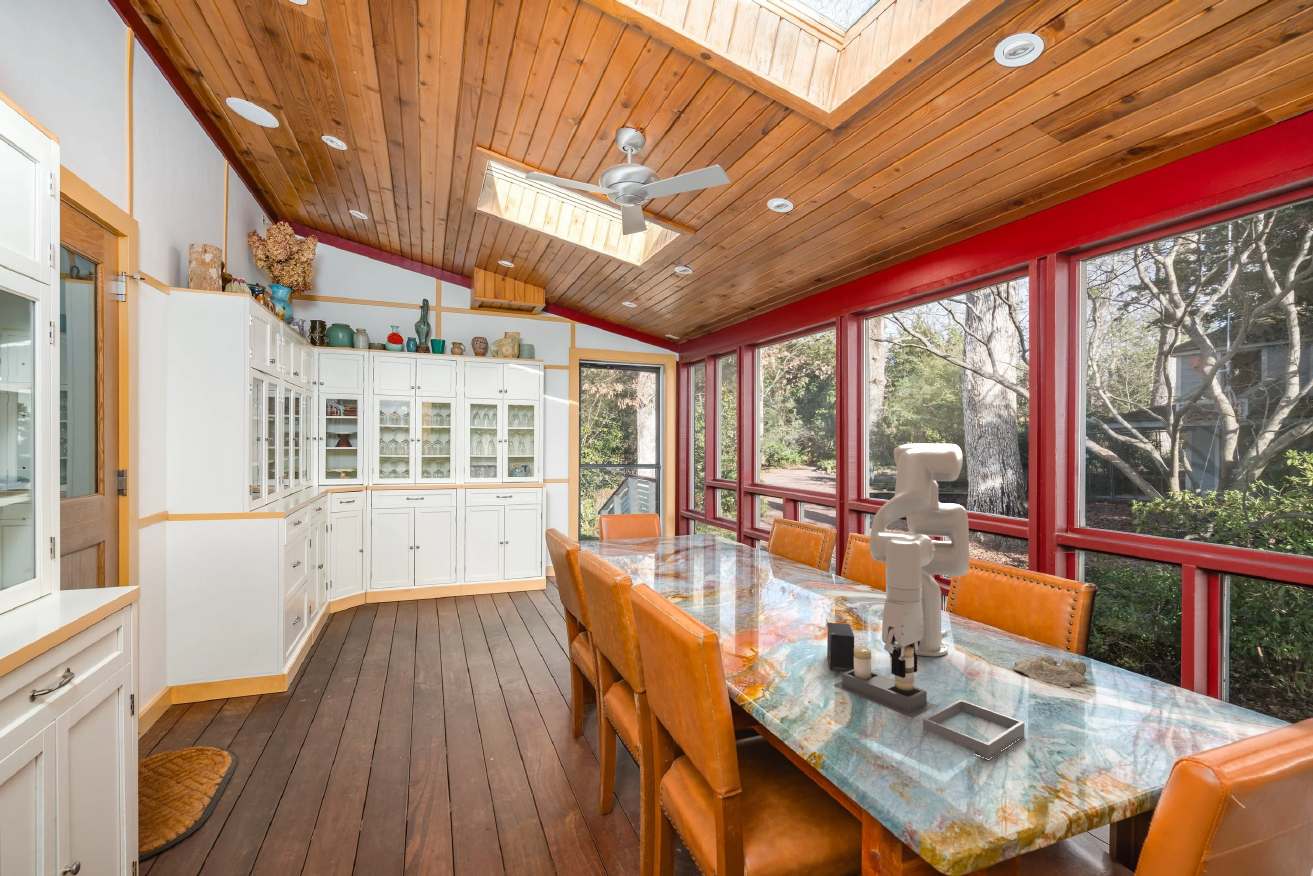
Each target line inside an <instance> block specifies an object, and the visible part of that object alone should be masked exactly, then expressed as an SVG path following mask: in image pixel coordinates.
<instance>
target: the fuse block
mask: <svg viewBox="0 0 1313 876" xmlns="http://www.w3.org/2000/svg"><path fill="white" fill-rule="evenodd" d="M841 677H842V678H841V681H839V682H837V683H835V684H832V686H833V687H836V688H838V689H841V690H843V691H846V692H847V693H850V694H853V695H855V696H858V697H860V698H863V699H865V700H867V701H870V702H873V703H875V704H877V705H880V706H882V707H885V708H888V709H890V710H891V711H895V712H897V713H900V714H902V715H905V716H907V717H909V718H911V719H913V718H915V717H918V716H919V715H922V714H923V713H925V712H928V711H929V710H931V709H933V708H935V707H937V706H938V704H936V703H932V702H929V701H927V699H928V697H927V694H928V693H927V691H926V690H924V689H921V688H919V687H916V686H914V689H913V690H909V691H907V690H901V689H898V688H897V687H896V686H895V678H891V677H889V676H885V675H882V674H879V673H877V672H874V671H872V670H871V679H869V680H866V681H865V680H862V679H859V678H857V677H854V669H853V670H850V671H847V672H846V671H844V672H843V673H841Z"/></svg>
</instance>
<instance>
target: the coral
mask: <svg viewBox="0 0 1313 876" xmlns="http://www.w3.org/2000/svg"><path fill="white" fill-rule="evenodd" d="M1014 664H1015V666H1012V670H1014V671H1017V672H1020V673H1022V674H1024V675H1025V676H1027V677H1029V678H1032V679H1035V680H1038V681H1040V682H1044V683H1046V684H1051V685H1055V686H1058V687H1062V688H1064V689H1066V688H1072V687H1071V685H1072V684H1076V685H1077V684H1079V685H1081V684H1084V683H1086V682H1087V681H1088V678H1086V677H1085V676H1086V675H1085V674H1086V671H1087V667H1086V663H1085V662H1081V661H1080V660H1077V661H1073V660H1071V659H1067V658H1063V659H1062V660H1061V663H1060V666H1058V660H1055V659H1054V657H1053V656H1051V655H1049V654H1044V655H1041V656H1037V657H1033V658H1025V659H1024V660H1018V661H1016V662H1015V663H1014Z"/></svg>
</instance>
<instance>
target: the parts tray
mask: <svg viewBox="0 0 1313 876" xmlns="http://www.w3.org/2000/svg"><path fill="white" fill-rule="evenodd" d="M961 711H963V712H965V713H968V714H971V715H973V716H976V717H979V718H982V719H984V720H987V721H989V722H992V723H995V724H998V725H1000V726H1003V727H1005V728H1008V729H1006V730H1005V731H1003V732H1002V733H1000V734H999V735H997V736H995V737H994V738H992V739H991V740H989V741H987V742H985V741H983V740H981V739H978V738H976V737H973V736H970V735H969V734H965V733H963V732H961V731H958V730H955V729H953V728H950V727H948V726H946V725H943V724H940V723H941V722H943V721H944V720H945V721H946V719H949V718H950V717H952V716H954V715H956V714H958V713H959V712H961ZM922 729H923V730H925V731H928V732H930V733H933V734H935V735H938V736H939V737H942V738H944V739H947V740H949V741H952V742H954V743H955V744H958V745H961V746H963V747H966V748H969V749H971V750H973V751H975V752H974V753H975V754H977V755H980V756H981V757H984V758H987V759H990V758H991V757H993V756H995V755H996V754H998V753H1000V752H1001V750H1003V749H1005V748H1006V747H1008V746H1009V745H1011V744H1012V743H1014V742H1015V741H1017V740H1018V739H1020V738H1021V737H1023V736H1024V737H1025V721H1022V720H1019V719H1017V718H1014V717H1011V716H1008V715H1006V714H1002V713H1000V712H997V711H994V710H992V709H989V708H985V707H983V706H980V705H978V704H974V703H971V702H969V701H966V700H963V699H958V700H957V701H955V702H953V703H951V704H949V705H947V706H945V707H943V708H941V709H939V710H937V711H936V712H933V713H931V714H930V715H927V716H926V717H924V718H922ZM1024 737H1023V738H1024ZM1020 740H1021V739H1020ZM1017 742H1018V741H1017ZM1014 744H1015V743H1014ZM1011 746H1012V745H1011ZM1008 748H1009V747H1008ZM1005 750H1006V749H1005ZM1001 753H1002V752H1001ZM1001 753H1000V754H1001ZM998 755H999V754H998ZM981 757H980V758H981ZM995 757H996V756H995Z"/></svg>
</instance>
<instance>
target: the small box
mask: <svg viewBox="0 0 1313 876" xmlns="http://www.w3.org/2000/svg"><path fill="white" fill-rule="evenodd" d="M826 625H827V637H826V638H827V642H826V643H827V646H826V647H827V648H826V649H827V650H826V654H827V656H826V657H827V663H828V668H829V670H830V671H833V672H847V671H850V670H853V669H854V648H855V635H854V632H853V629H852V627H851V624H850V623H839V622H829V621H828V622H827V624H826Z"/></svg>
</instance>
